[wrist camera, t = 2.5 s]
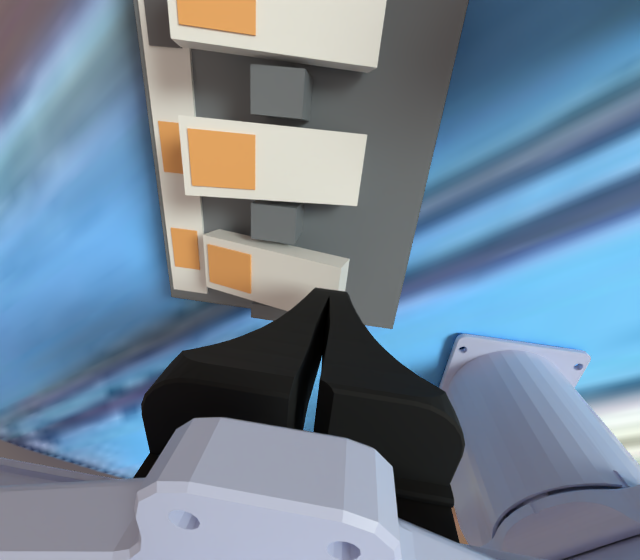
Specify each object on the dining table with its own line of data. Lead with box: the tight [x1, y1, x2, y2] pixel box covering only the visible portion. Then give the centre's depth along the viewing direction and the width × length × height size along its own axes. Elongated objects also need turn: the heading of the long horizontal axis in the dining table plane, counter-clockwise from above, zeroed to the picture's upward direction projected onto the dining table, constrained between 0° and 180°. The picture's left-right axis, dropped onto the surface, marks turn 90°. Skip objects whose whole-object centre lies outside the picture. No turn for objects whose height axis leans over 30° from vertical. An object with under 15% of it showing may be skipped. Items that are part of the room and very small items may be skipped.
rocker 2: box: [203, 229, 350, 311], centre depth 15 cm, size 3×7×1 cm, turn 85°
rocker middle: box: [178, 115, 367, 206], centre depth 13 cm, size 3×7×1 cm, turn 85°
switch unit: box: [133, 0, 469, 329], centre depth 15 cm, size 16×13×4 cm
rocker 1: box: [167, 0, 387, 73], centre depth 11 cm, size 3×7×1 cm, turn 84°
